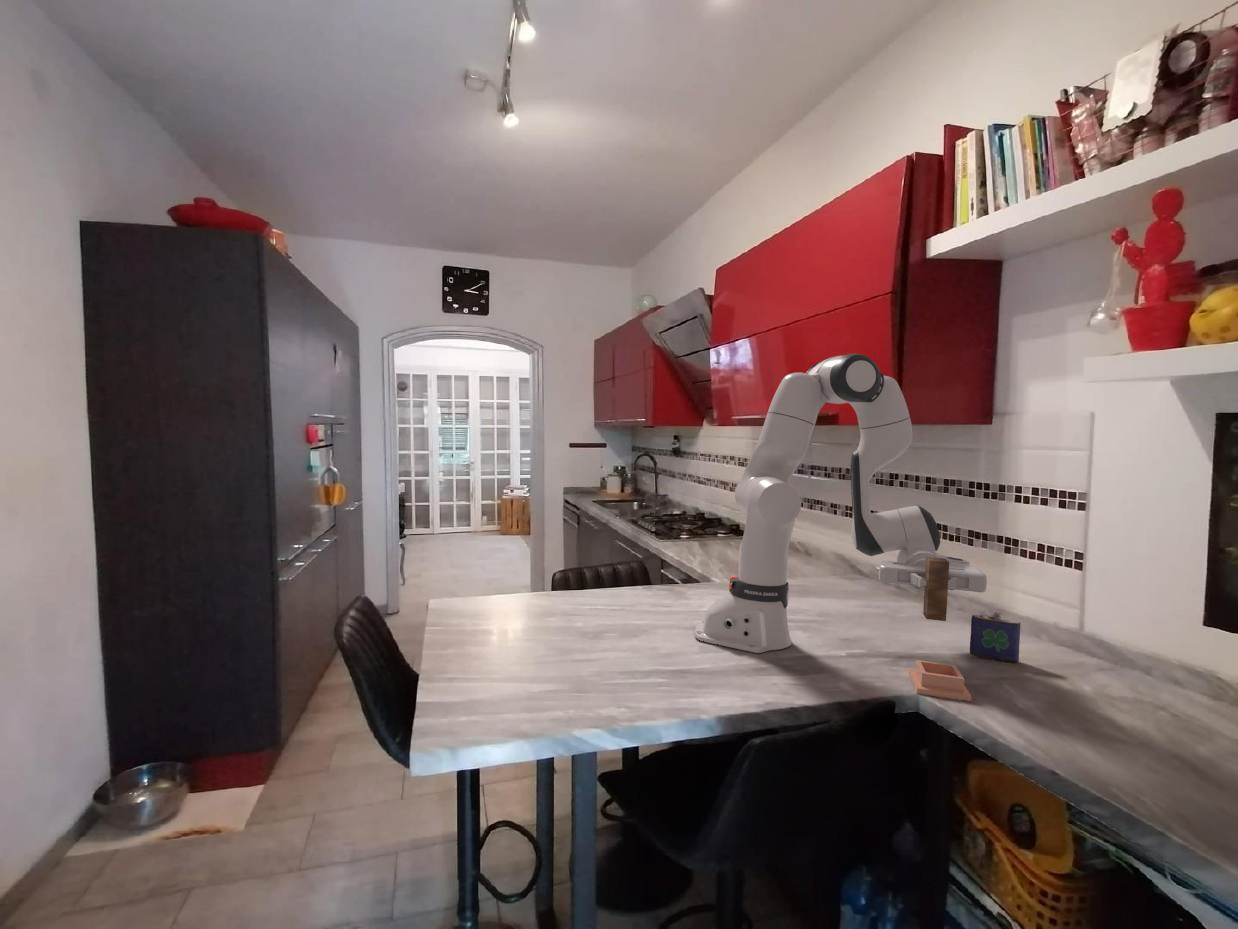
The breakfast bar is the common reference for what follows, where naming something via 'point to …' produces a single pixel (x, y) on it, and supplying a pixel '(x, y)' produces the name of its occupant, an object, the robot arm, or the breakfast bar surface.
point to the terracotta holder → (938, 680)
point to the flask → (995, 638)
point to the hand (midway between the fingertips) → (937, 584)
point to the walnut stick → (936, 589)
